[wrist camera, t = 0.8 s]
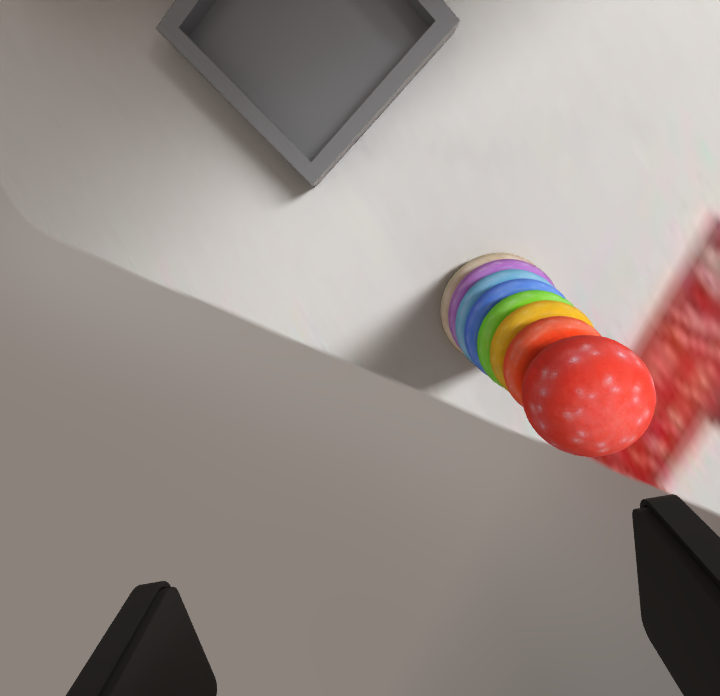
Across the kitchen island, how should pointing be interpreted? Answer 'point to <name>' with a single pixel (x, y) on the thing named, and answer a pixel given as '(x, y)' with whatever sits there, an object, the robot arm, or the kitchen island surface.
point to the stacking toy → (547, 356)
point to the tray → (309, 64)
